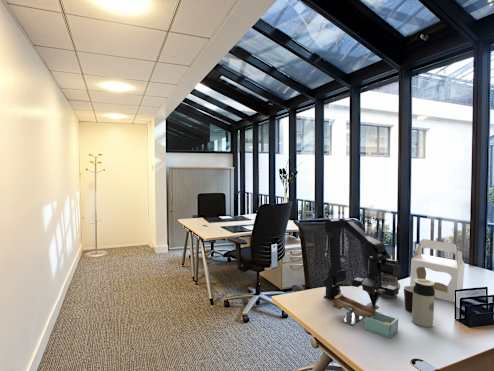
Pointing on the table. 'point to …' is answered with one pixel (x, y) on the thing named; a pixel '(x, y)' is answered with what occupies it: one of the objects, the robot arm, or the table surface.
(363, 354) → the table surface
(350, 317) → the fulcrum
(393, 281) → the apothecary jar
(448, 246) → the gable box
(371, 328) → the bin
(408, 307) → the coffee mug
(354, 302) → the lever
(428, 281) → the travel mug
